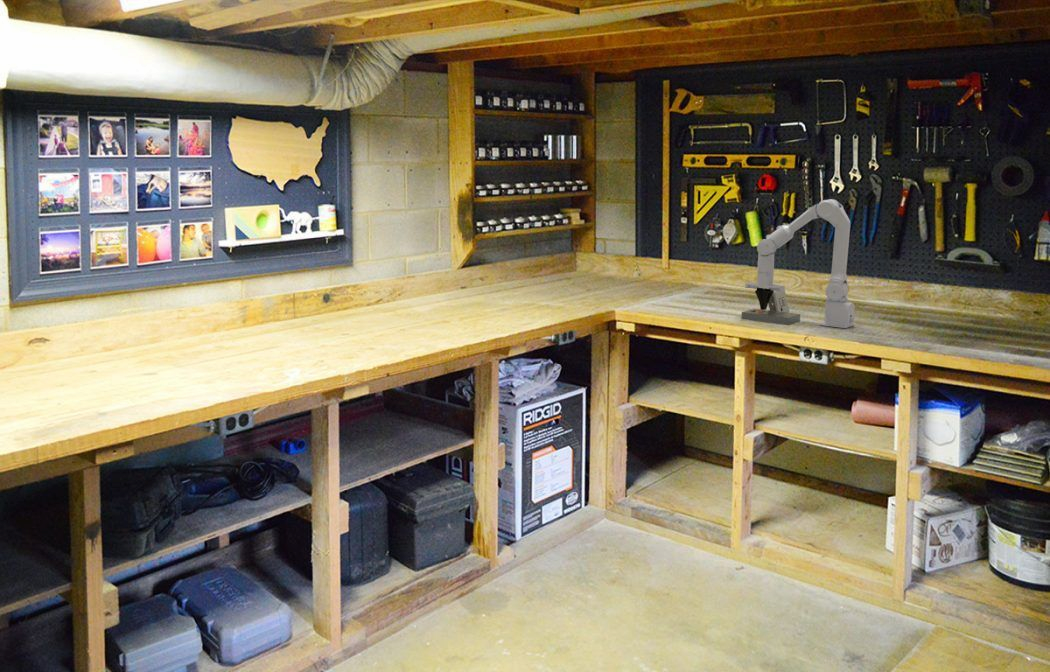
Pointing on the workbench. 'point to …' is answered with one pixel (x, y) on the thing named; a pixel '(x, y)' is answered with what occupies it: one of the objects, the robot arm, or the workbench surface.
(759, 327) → the workbench surface
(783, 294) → the electrical switch
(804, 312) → the workbench surface
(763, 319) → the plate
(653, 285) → the workbench surface
